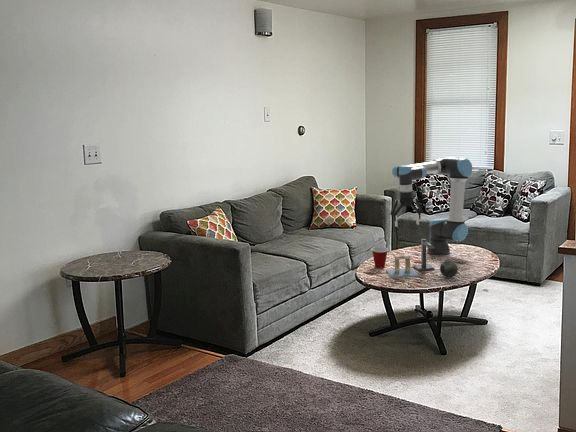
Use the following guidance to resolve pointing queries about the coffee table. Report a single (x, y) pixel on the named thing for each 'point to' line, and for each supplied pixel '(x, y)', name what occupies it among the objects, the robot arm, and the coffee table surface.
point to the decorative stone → (448, 269)
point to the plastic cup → (379, 256)
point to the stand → (424, 257)
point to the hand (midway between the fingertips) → (407, 225)
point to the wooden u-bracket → (407, 262)
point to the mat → (402, 273)
